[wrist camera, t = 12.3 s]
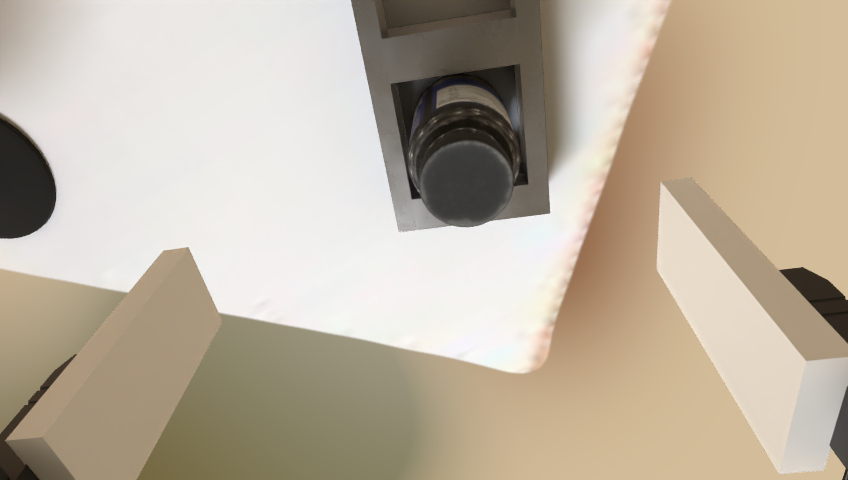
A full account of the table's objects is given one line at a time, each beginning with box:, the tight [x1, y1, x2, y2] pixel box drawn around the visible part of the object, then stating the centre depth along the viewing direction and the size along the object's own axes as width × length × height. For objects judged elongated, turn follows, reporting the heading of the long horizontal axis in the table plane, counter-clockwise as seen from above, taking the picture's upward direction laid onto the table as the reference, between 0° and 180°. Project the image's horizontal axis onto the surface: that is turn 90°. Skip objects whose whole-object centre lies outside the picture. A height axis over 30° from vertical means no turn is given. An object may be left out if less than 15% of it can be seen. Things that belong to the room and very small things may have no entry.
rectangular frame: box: [351, 0, 550, 232], centre depth 32 cm, size 22×10×4 cm, turn 9°
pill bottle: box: [407, 74, 521, 227], centre depth 31 cm, size 6×6×11 cm
